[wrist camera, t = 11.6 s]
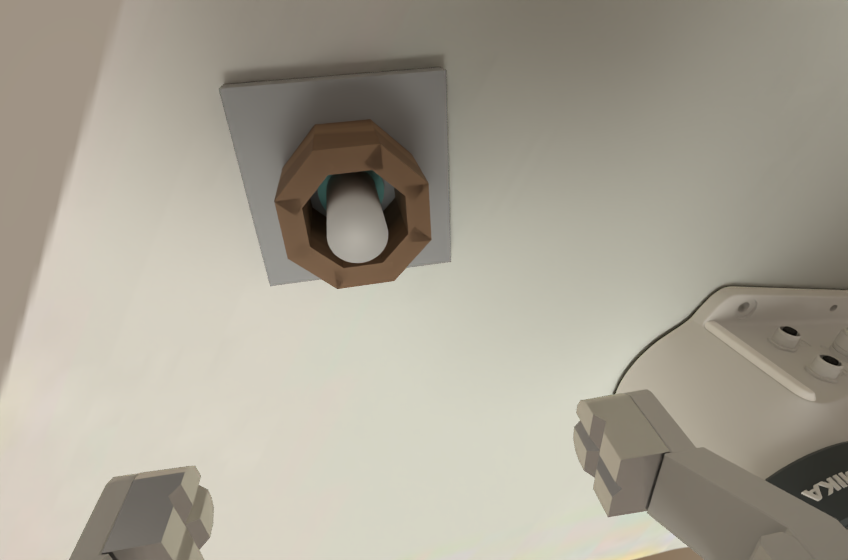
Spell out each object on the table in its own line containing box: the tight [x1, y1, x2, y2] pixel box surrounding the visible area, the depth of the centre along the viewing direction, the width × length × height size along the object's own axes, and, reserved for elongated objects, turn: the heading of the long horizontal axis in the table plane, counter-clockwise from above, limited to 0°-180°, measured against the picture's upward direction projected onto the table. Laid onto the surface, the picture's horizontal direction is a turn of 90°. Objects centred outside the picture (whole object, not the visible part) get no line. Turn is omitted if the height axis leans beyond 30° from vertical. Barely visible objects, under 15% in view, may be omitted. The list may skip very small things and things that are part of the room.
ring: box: [274, 119, 432, 289], centre depth 21 cm, size 6×6×4 cm
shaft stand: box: [219, 67, 451, 286], centre depth 21 cm, size 10×10×7 cm
